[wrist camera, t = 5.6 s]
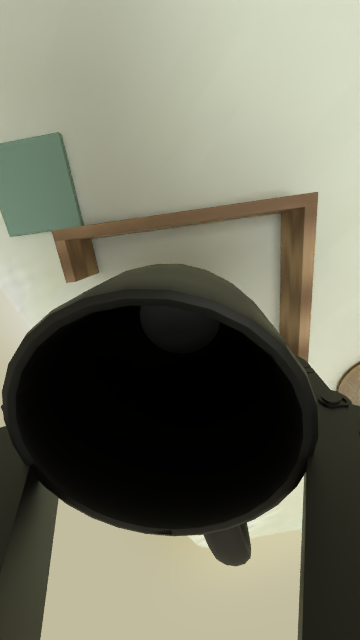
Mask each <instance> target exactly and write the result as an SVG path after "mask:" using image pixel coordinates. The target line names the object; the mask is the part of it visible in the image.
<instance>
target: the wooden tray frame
mask: <svg viewBox="0 0 360 640" xmlns="http://www.w3.org/2000/svg"><path fill="white" fill-rule="evenodd" d="M317 203H318V192H314V193H307V194H300V195H293V196H287V197H280V198H273V199H266V200H259V201H252V202H245V203H238V204H231V205H224V206H218V207H211V208H204V209H197V210H190V211H183V212H176V213H169V214H162V215H155V216H149V217H142V218H135V219H128V220H121V221H114V222H107V223H100V224H93V225H86V226H80V227H73V228H66V229H59V230H52V234H53V238H54V241H55V245H56V248H57V252H58V255H59V259H60V262H61V266H62V269H63V273H64V276H65V280H66V283H69V282H76V281H79V280H81V279H84V278H86V277H89V276H91V275H94V274H97V273H99V271H98V267H97V263H96V259H95V255H94V250H93V246H92V242H91V239H95V238H102V237H109V236H116V235H124V234H131V233H138V232H145V231H153V230H160V229H167V228H174V227H182V226H189V225H196V224H203V223H210V222H218V221H225V220H232V219H239V218H247V217H254V216H261V215H268V214H276V213H282V224H281V291H280V336H281V337H282V338H283V340H284V341H285V342H286V344H287V345H288V346H289V348H290V349H291V351H292V352H293V353H294V355H297V356H299V357H301V358H303V359H304V360H306V361H307V363H308V353H309V336H310V319H311V303H312V286H313V269H314V253H315V236H316V219H317Z"/></svg>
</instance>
